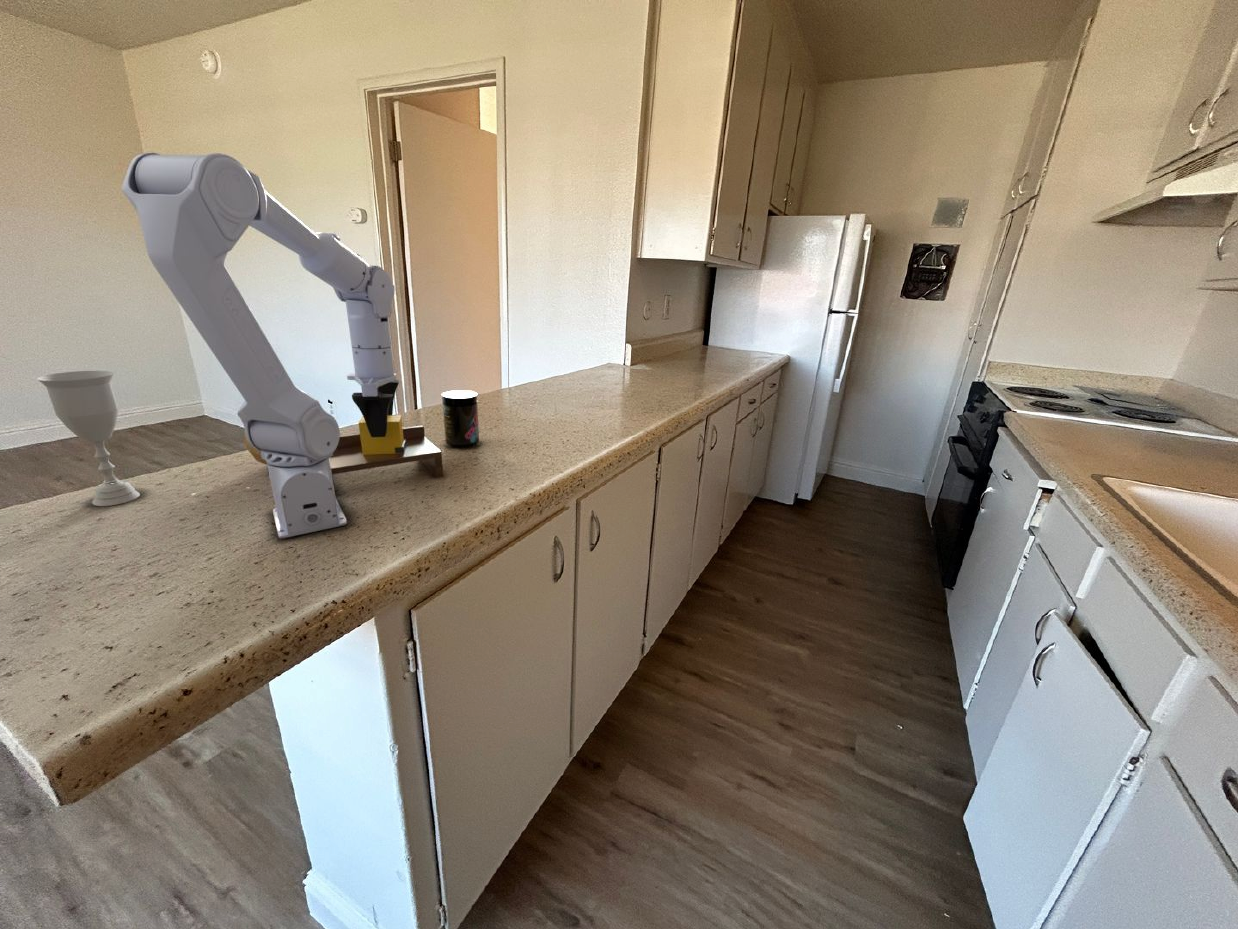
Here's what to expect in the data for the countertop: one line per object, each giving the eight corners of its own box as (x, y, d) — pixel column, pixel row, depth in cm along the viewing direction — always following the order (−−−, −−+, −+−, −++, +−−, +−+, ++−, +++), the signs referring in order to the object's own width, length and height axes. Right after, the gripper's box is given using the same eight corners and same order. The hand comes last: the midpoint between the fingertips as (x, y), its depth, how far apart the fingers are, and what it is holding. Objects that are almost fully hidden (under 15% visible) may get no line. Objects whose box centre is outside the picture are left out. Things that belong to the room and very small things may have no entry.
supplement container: (462, 451, 100) (459, 399, 97) (438, 444, 103) (434, 394, 100) (486, 443, 106) (484, 393, 102) (463, 437, 109) (460, 388, 105)
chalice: (106, 512, 70) (63, 382, 64) (67, 505, 71) (21, 378, 65) (161, 491, 77) (127, 373, 71) (125, 486, 78) (88, 369, 72)
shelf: (443, 475, 88) (440, 440, 86) (326, 497, 78) (319, 457, 76) (425, 458, 96) (422, 425, 93) (316, 476, 85) (310, 439, 83)
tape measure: (404, 453, 85) (400, 421, 83) (361, 455, 83) (356, 422, 81) (406, 445, 89) (403, 414, 87) (365, 447, 87) (361, 416, 85)
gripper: (352, 340, 85) (362, 418, 90) (333, 353, 72) (346, 444, 77) (397, 340, 87) (405, 417, 92) (387, 353, 74) (397, 442, 79)
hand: (381, 429), depth 85 cm, fingers open, 7 cm apart
